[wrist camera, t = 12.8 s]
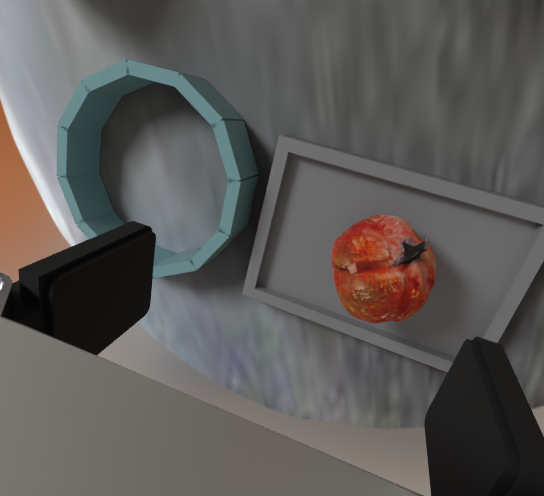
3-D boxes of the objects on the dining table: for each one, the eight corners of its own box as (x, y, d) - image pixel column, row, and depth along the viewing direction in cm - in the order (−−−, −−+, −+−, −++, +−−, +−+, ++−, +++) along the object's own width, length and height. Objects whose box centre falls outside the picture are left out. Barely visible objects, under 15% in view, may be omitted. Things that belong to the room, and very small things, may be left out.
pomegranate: (388, 298, 32) (496, 279, 23) (331, 346, 29) (431, 344, 20) (346, 225, 32) (436, 178, 24) (283, 263, 29) (361, 226, 20)
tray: (286, 134, 30) (279, 135, 28) (556, 209, 25) (569, 215, 24) (249, 285, 35) (241, 294, 33) (470, 367, 31) (474, 383, 29)
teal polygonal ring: (96, 51, 32) (58, 42, 29) (276, 97, 29) (259, 93, 25) (87, 229, 39) (55, 240, 35) (234, 284, 35) (216, 302, 32)
